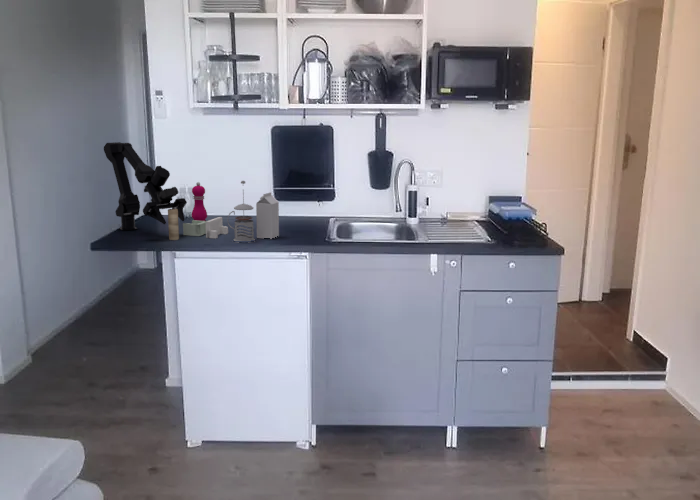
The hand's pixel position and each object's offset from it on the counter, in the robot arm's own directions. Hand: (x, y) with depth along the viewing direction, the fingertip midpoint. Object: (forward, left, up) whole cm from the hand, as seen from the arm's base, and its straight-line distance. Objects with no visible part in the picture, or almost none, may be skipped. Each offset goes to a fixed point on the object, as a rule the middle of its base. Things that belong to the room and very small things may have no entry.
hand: (174, 222), depth 264 cm
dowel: (-1, 0, -7) cm, 7 cm away
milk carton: (+13, +36, -7) cm, 39 cm away
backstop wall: (0, +18, -7) cm, 20 cm away
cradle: (-7, +11, -7) cm, 15 cm away
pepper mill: (-29, +19, -7) cm, 36 cm away
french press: (+14, +24, -7) cm, 29 cm away
